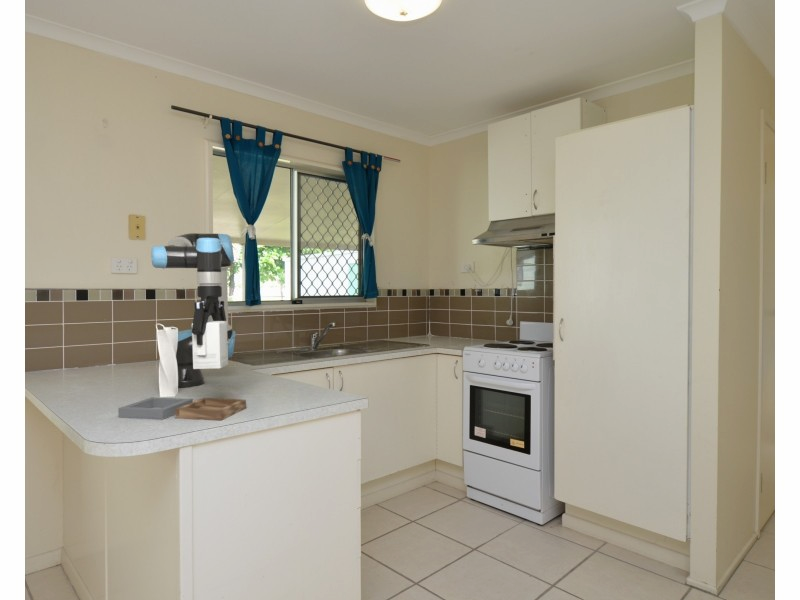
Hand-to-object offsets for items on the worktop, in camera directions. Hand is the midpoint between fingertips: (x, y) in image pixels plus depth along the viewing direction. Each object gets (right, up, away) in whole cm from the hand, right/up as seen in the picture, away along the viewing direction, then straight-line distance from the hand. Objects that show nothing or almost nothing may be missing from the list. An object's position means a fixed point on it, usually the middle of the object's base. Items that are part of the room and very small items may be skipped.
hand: (210, 352), depth 167 cm
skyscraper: (-27, -20, +28) cm, 44 cm away
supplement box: (0, -5, 0) cm, 5 cm away
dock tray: (0, -20, +1) cm, 20 cm away
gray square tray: (-19, -20, +2) cm, 28 cm away
